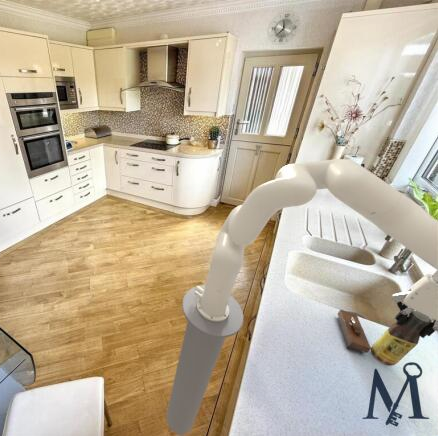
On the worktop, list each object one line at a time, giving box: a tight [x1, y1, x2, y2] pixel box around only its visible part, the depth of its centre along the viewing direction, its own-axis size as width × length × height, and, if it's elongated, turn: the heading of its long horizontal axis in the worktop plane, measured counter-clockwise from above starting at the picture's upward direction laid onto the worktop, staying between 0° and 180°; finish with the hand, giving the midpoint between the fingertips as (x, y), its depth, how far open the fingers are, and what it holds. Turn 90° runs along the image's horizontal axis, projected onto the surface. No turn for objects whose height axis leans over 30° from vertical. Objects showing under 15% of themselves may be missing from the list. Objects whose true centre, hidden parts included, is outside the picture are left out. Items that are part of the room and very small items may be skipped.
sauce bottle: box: [370, 310, 433, 367], centre depth 70 cm, size 6×6×20 cm
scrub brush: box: [336, 309, 372, 354], centre depth 80 cm, size 14×5×6 cm, turn 157°
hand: (409, 327), depth 67 cm, fingers closed on sauce bottle, 4 cm apart
